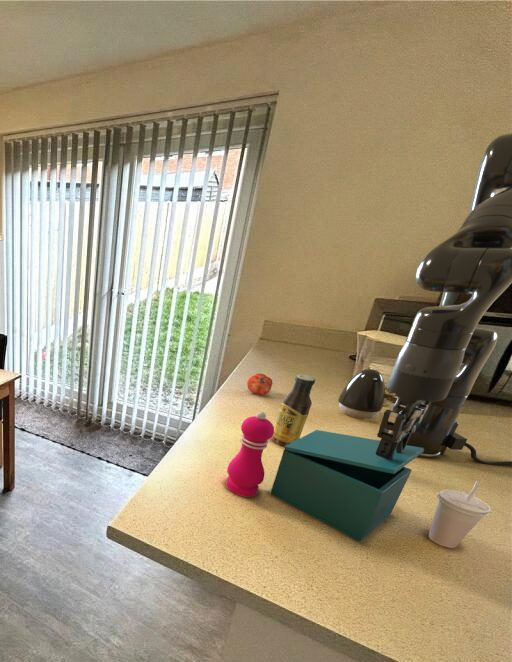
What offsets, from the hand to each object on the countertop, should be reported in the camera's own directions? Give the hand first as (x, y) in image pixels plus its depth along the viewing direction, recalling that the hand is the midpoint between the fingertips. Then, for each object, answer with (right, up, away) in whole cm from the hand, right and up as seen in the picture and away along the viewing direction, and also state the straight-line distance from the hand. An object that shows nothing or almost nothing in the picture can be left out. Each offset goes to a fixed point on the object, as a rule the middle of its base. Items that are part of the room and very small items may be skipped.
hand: (389, 452), depth 74 cm
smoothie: (+12, -18, +1) cm, 21 cm away
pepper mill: (-18, -12, +17) cm, 27 cm away
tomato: (+17, +10, +64) cm, 67 cm away
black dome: (+37, +3, +48) cm, 61 cm away
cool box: (-2, -14, +11) cm, 18 cm away
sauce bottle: (+5, -4, +34) cm, 35 cm away
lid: (-3, -1, +5) cm, 6 cm away
